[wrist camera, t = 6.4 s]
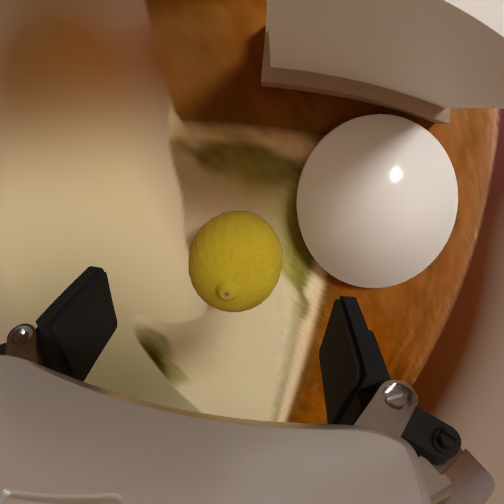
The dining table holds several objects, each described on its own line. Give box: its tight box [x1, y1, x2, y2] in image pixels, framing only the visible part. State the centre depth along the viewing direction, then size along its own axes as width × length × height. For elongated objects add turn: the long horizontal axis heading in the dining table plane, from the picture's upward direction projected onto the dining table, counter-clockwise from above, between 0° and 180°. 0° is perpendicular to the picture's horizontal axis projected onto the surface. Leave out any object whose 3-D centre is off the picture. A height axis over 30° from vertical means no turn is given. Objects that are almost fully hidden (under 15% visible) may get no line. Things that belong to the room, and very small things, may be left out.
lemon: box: [189, 211, 282, 312], centre depth 17 cm, size 6×6×8 cm
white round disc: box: [296, 114, 458, 288], centre depth 18 cm, size 13×13×1 cm
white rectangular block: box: [261, 0, 504, 124], centre depth 9 cm, size 5×13×14 cm, turn 85°
